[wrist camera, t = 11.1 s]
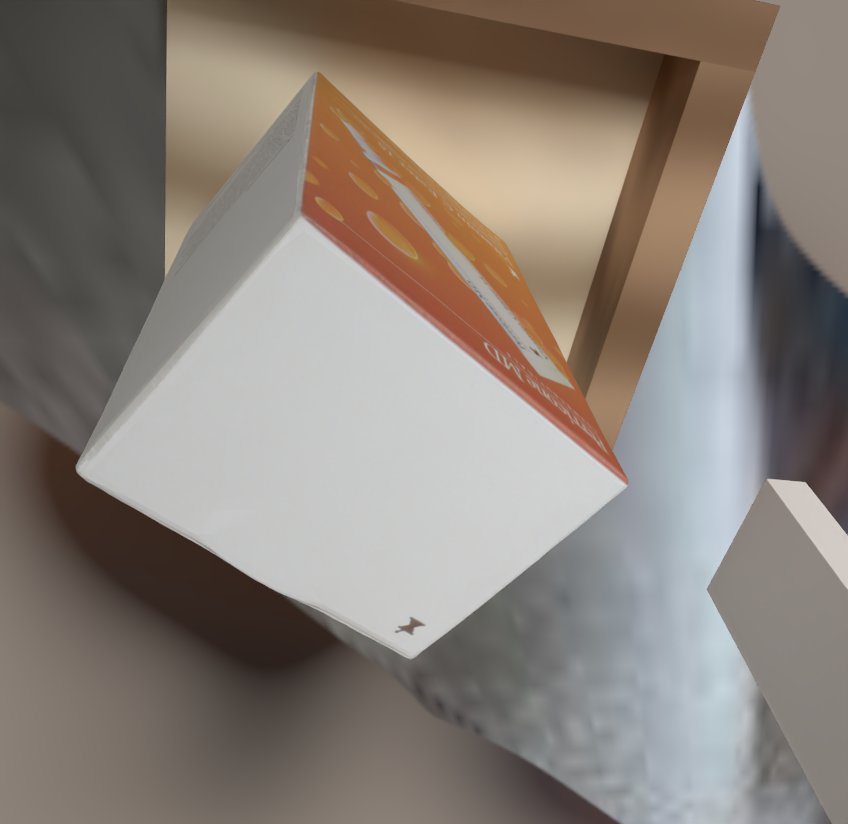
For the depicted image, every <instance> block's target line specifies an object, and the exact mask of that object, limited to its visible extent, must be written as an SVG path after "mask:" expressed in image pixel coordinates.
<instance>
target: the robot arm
mask: <svg viewBox="0 0 848 824" xmlns="http://www.w3.org/2000/svg"><path fill="white" fill-rule="evenodd" d="M707 591H708V593H709V594H710V596H711V598H712V600H713V602H714V604H715V606H716V608H717V609H718V611H719V613H720V615H721V617H722V619H723V621H724V623H725V624H726V626H727V628H728V630H729V632H730V634H731V636H732V638H733V640H734V641H735V643H736V645H737V647H738V649H739V651H740V653H741V655H742V656H743V658H744V660H745V662H746V664H747V666H748V668H749V670H750V671H751V673H752V675H753V677H754V679H755V681H756V683H757V685H758V686H759V688H760V690H761V692H762V694H763V696H764V698H765V700H766V701H767V703H768V705H769V707H770V709H771V711H772V713H773V715H774V717H775V718H776V720H777V722H778V724H779V726H780V728H781V730H782V732H783V733H784V735H785V737H786V739H787V741H788V743H789V745H790V747H791V748H792V750H793V752H794V754H795V756H796V758H797V760H798V762H799V763H800V765H801V767H802V769H803V771H804V773H805V775H806V777H807V778H808V780H809V782H810V784H811V786H812V788H813V790H814V792H815V794H816V795H817V797H818V799H819V801H820V803H821V805H822V807H823V809H824V810H825V812H826V814H827V816H828V818H829V820H830V822H831V824H848V536H847V534H846V533H845V532H844V530H843V529H842V528H841V527H840V525H839V524H838V523H837V522H836V520H835V519H834V518H833V517H832V515H831V514H830V513H829V512H828V510H827V509H826V508H825V506H824V505H823V504H822V503H821V501H820V500H819V499H818V498H817V496H816V495H815V494H814V493H813V491H812V490H811V489H810V488H809V486H808V485H807V484H806V482H796V481H785V480H774V479H766V481H765V482H764V484H763V486H762V488H761V490H760V492H759V494H758V495H757V497H756V499H755V501H754V503H753V505H752V506H751V508H750V510H749V512H748V514H747V516H746V518H745V519H744V521H743V523H742V525H741V527H740V529H739V531H738V532H737V534H736V536H735V538H734V540H733V542H732V543H731V545H730V547H729V549H728V551H727V553H726V555H725V556H724V558H723V560H722V562H721V564H720V566H719V567H718V569H717V571H716V573H715V575H714V577H713V579H712V580H711V582H710V584H709V586H708V588H707Z"/></svg>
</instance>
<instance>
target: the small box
mask: <svg viewBox="0 0 848 824" xmlns="http://www.w3.org/2000/svg"><path fill="white" fill-rule="evenodd" d="M76 471H77V473H78V474H79V475H80V476H81V477H82V478H84V479H85V480H86V481H87V482H89V483H91V484H93V485H95V486H96V487H98V488H100V489H102V490H103V491H105V492H107V493H108V494H110V495H111V496H113V497H115V498H117V499H118V500H120V501H122V502H124V503H126V504H127V505H129V506H131V507H133V508H135V509H137V510H138V511H140V512H142V513H143V514H145V515H147V516H148V517H150V518H152V519H154V520H155V521H157V522H159V523H160V524H162V525H164V526H166V527H168V528H169V529H171V530H173V531H175V532H177V533H179V534H180V535H182V536H184V537H186V538H188V539H190V540H191V541H193V542H195V543H197V544H199V545H200V546H202V547H203V548H205V549H207V550H208V551H210V552H212V553H213V554H215V555H217V556H218V557H220V558H221V559H223V560H225V561H226V562H228V563H230V564H231V565H232V566H234V567H236V568H237V569H239V570H240V571H242V572H243V573H245V574H246V575H248V576H250V577H251V578H253V579H255V580H256V581H258V582H260V583H262V584H264V585H266V586H267V587H269V588H271V589H273V590H275V591H277V592H279V593H281V594H283V595H286V596H288V597H290V598H292V599H295V600H297V601H299V602H301V603H303V604H306V605H308V606H310V607H313V608H315V609H317V610H319V611H321V612H323V613H325V614H326V615H328V616H330V617H332V618H333V619H335V620H337V621H339V622H341V623H343V624H345V625H347V626H349V627H351V628H352V629H354V630H356V631H358V632H360V633H362V634H363V635H365V636H367V637H369V638H371V639H373V640H375V641H377V642H379V643H381V644H382V645H384V646H386V647H388V648H390V649H392V650H394V651H395V652H397V653H399V654H400V655H402V656H404V657H406V658H408V659H413V658H415V657H416V656H417V655H419V654H420V653H421V652H422V651H423V650H425V649H426V648H427V647H429V646H430V645H431V644H433V643H434V642H435V641H437V640H438V639H439V638H441V637H442V636H443V635H445V634H446V633H447V632H449V631H450V630H451V629H452V628H454V627H455V626H456V625H457V624H459V623H460V622H461V621H463V620H464V619H465V618H466V617H468V616H469V615H470V614H472V613H473V612H474V611H475V610H477V609H478V608H479V607H480V606H482V605H483V604H484V603H485V602H487V601H488V600H489V599H490V598H491V597H493V596H494V595H495V594H496V593H498V592H499V591H500V590H501V589H503V588H504V587H505V586H506V585H508V584H509V583H510V582H511V581H513V580H514V579H515V578H516V577H518V576H519V575H520V574H521V573H523V572H524V571H525V570H526V569H527V568H529V567H530V566H531V565H532V564H534V563H535V562H536V561H537V560H539V559H540V558H541V557H542V556H543V555H544V554H546V553H547V552H548V551H549V550H550V549H552V548H553V547H554V546H556V545H557V544H558V543H559V542H561V541H562V540H563V539H564V538H566V537H567V536H568V535H569V534H571V533H572V532H573V531H574V530H576V529H577V528H578V527H579V526H580V525H582V524H583V523H584V522H585V521H586V520H588V519H589V518H590V517H591V516H593V515H594V514H595V513H596V512H597V511H598V510H599V509H601V508H602V507H603V506H604V505H605V504H607V503H608V502H609V501H610V500H612V499H613V498H614V497H616V496H617V495H618V494H619V493H621V492H622V491H623V490H624V489H625V488H627V486H628V479H627V477H626V475H625V474H624V472H623V470H622V468H621V466H620V464H619V463H618V461H617V459H616V457H615V455H614V453H613V452H612V450H611V448H610V446H609V444H608V442H607V441H606V439H605V437H604V435H603V433H602V431H601V429H600V427H599V425H598V423H597V421H596V419H595V417H594V415H593V413H592V411H591V409H590V407H589V405H588V404H587V402H586V400H585V398H584V396H583V394H582V392H581V390H580V388H579V386H578V384H577V382H576V380H575V378H574V376H573V374H572V372H571V370H570V368H569V366H568V364H567V362H566V360H565V358H564V356H563V354H562V352H561V350H560V348H559V346H558V344H557V342H556V340H555V338H554V336H553V334H552V333H551V331H550V329H549V327H548V325H547V323H546V321H545V319H544V317H543V315H542V314H541V312H540V310H539V308H538V306H537V304H536V302H535V300H534V298H533V296H532V294H531V292H530V290H529V288H528V286H527V284H526V282H525V280H524V278H523V275H522V274H521V272H520V270H519V268H518V266H517V264H516V262H515V260H514V258H513V256H512V254H511V252H510V250H509V249H508V247H507V245H506V243H505V242H504V241H503V240H502V239H500V238H499V237H498V236H497V235H496V234H494V233H493V232H492V231H491V230H490V229H488V228H487V227H486V226H485V225H484V224H482V223H481V222H480V221H479V220H478V219H477V218H475V217H474V216H473V215H472V214H471V213H470V212H469V211H467V210H466V209H465V208H464V207H463V206H462V205H461V204H460V203H459V202H457V201H456V200H455V199H454V198H453V197H452V196H451V195H450V194H449V193H448V192H447V191H446V190H444V189H443V188H442V187H441V186H440V185H439V184H438V183H437V182H436V181H435V180H434V179H433V178H431V177H430V176H429V175H428V174H427V173H426V172H425V171H424V170H422V169H421V168H420V167H419V166H418V165H417V164H416V163H415V162H414V161H413V160H412V159H411V158H410V157H408V156H407V155H406V154H405V153H404V152H403V151H402V150H401V149H400V148H399V147H398V146H397V145H396V144H395V143H394V142H393V141H392V140H390V139H389V138H388V137H387V136H386V135H385V134H384V133H383V132H382V131H381V130H380V129H379V128H378V127H377V126H376V125H375V124H374V123H373V122H371V121H370V120H369V119H368V118H367V117H366V116H365V115H364V114H363V113H362V112H361V111H360V110H359V109H358V108H357V107H356V106H355V105H354V104H352V103H351V102H350V101H349V100H348V99H347V98H346V97H345V96H344V95H343V94H342V93H341V92H340V91H339V90H338V89H337V88H336V87H335V86H333V85H332V84H331V83H330V82H329V81H328V80H327V79H326V78H325V77H324V76H323V75H322V74H321V73H320V72H315V73H313V75H312V76H311V77H310V78H309V79H308V80H307V82H306V83H305V84H304V85H303V87H302V88H301V89H300V90H299V92H298V93H297V94H296V95H295V97H294V98H293V99H292V100H291V102H290V103H289V104H288V105H287V107H286V108H285V109H284V110H283V112H282V113H281V114H280V115H279V117H278V118H277V119H276V120H275V122H274V123H273V124H272V125H271V127H270V128H269V129H268V130H267V132H266V133H265V134H264V135H263V137H262V138H261V139H260V140H259V142H258V143H257V144H256V145H255V147H254V148H253V149H252V150H251V152H250V153H249V154H248V155H247V157H246V158H245V159H244V160H243V162H242V163H241V164H240V165H239V166H238V168H237V169H236V170H235V171H234V173H233V174H232V175H231V176H230V178H229V179H228V180H227V181H226V183H225V184H224V185H223V186H222V188H221V189H220V190H219V191H218V192H217V194H216V195H215V196H214V197H213V199H212V200H211V201H210V202H209V204H208V205H207V206H206V207H205V209H204V210H203V211H202V212H201V213H200V215H199V216H198V217H197V218H196V220H195V221H194V222H193V224H192V225H191V227H190V228H189V230H188V232H187V234H186V236H185V238H184V240H183V242H182V244H181V246H180V249H179V251H178V253H177V255H176V257H175V259H174V261H173V263H172V265H171V267H170V270H169V272H168V274H167V276H166V278H165V280H164V283H163V285H162V287H161V289H160V291H159V293H158V296H157V298H156V300H155V302H154V305H153V307H152V309H151V311H150V314H149V316H148V318H147V320H146V322H145V324H144V326H143V328H142V330H141V332H140V335H139V337H138V339H137V341H136V343H135V345H134V347H133V349H132V352H131V354H130V356H129V358H128V360H127V362H126V364H125V366H124V369H123V371H122V373H121V375H120V377H119V379H118V382H117V384H116V386H115V388H114V390H113V392H112V394H111V397H110V399H109V401H108V403H107V405H106V407H105V409H104V411H103V413H102V416H101V418H100V420H99V422H98V423H97V425H96V427H95V429H94V431H93V433H92V435H91V437H90V439H89V441H88V443H87V445H86V447H85V449H84V451H83V453H82V455H81V457H80V459H79V461H78V463H77V465H76Z"/></svg>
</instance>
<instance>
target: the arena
mask: <svg viewBox="0 0 848 824" xmlns="http://www.w3.org/2000/svg"><path fill="white" fill-rule="evenodd" d="M779 8H780V6H779V5H774V4H769V3H765V2H760V1H756V0H167V76H166V203H165V278H166V276H167V274H168V272H169V270H170V267H171V265H172V263H173V261H174V259H175V257H176V255H177V253H178V251H179V249H180V246H181V244H182V242H183V240H184V238H185V236H186V234H187V232H188V230H189V228H190V227H191V225H192V224H193V222H194V221H195V220H196V218H197V217H198V216H199V215H200V213H201V212H202V211H203V210H204V209H205V207H206V206H207V205H208V204H209V202H210V201H211V200H212V199H213V197H214V196H215V195H216V194H217V192H218V191H219V190H220V189H221V188H222V186H223V185H224V184H225V183H226V181H227V180H228V179H229V178H230V176H231V175H232V174H233V173H234V171H235V170H236V169H237V168H238V166H239V165H240V164H241V163H242V162H243V160H244V159H245V158H246V157H247V155H248V154H249V153H250V152H251V150H252V149H253V148H254V147H255V145H256V144H257V143H258V142H259V140H260V139H261V138H262V137H263V135H264V134H265V133H266V132H267V130H268V129H269V128H270V127H271V125H272V124H273V123H274V122H275V120H276V119H277V118H278V117H279V115H280V114H281V113H282V112H283V110H284V109H285V108H286V107H287V105H288V104H289V103H290V102H291V100H292V99H293V98H294V97H295V95H296V94H297V93H298V92H299V90H300V89H301V88H302V87H303V85H304V84H305V83H306V82H307V80H308V79H309V78H310V77H311V76H312V75H313V73H315V72H320V73H321V74H322V75H323V76H324V77H325V78H326V79H327V80H328V81H329V82H330V83H331V84H332V85H333V86H335V87H336V88H337V89H338V90H339V91H340V92H341V93H342V94H343V95H344V96H345V97H346V98H347V99H348V100H349V101H350V102H351V103H352V104H354V105H355V106H356V107H357V108H358V109H359V110H360V111H361V112H362V113H363V114H364V115H365V116H366V117H367V118H368V119H369V120H370V121H371V122H373V123H374V124H375V125H376V126H377V127H378V128H379V129H380V130H381V131H382V132H383V133H384V134H385V135H386V136H387V137H388V138H389V139H390V140H392V141H393V142H394V143H395V144H396V145H397V146H398V147H399V148H400V149H401V150H402V151H403V152H404V153H405V154H406V155H407V156H408V157H410V158H411V159H412V160H413V161H414V162H415V163H416V164H417V165H418V166H419V167H420V168H421V169H422V170H424V171H425V172H426V173H427V174H428V175H429V176H430V177H431V178H433V179H434V180H435V181H436V182H437V183H438V184H439V185H440V186H441V187H442V188H443V189H444V190H446V191H447V192H448V193H449V194H450V195H451V196H452V197H453V198H454V199H455V200H456V201H457V202H459V203H460V204H461V205H462V206H463V207H464V208H465V209H466V210H467V211H469V212H470V213H471V214H472V215H473V216H474V217H475V218H477V219H478V220H479V221H480V222H481V223H482V224H484V225H485V226H486V227H487V228H488V229H490V230H491V231H492V232H493V233H494V234H496V235H497V236H498V237H499V238H500V239H502V240H503V241H504V242H505V243H506V245H507V247H508V249H509V250H510V252H511V254H512V256H513V258H514V260H515V262H516V264H517V266H518V268H519V270H520V272H521V274H522V275H523V278H524V280H525V282H526V284H527V286H528V288H529V290H530V292H531V294H532V296H533V298H534V300H535V302H536V304H537V306H538V308H539V310H540V312H541V314H542V315H543V317H544V319H545V321H546V323H547V325H548V327H549V329H550V331H551V333H552V334H553V336H554V338H555V340H556V342H557V344H558V346H559V348H560V350H561V352H562V354H563V356H564V358H565V360H566V362H567V364H568V366H569V368H570V370H571V372H572V374H573V376H574V378H575V380H576V382H577V384H578V386H579V388H580V390H581V392H582V394H583V396H584V398H585V400H586V402H587V404H588V405H589V407H590V409H591V411H592V413H593V415H594V417H595V419H596V421H597V423H598V425H599V427H600V429H601V431H602V433H603V435H604V437H605V439H606V441H607V442H608V444H609V446H610V448H611V450H613V447H614V444H615V442H616V439H617V436H618V434H619V431H620V428H621V426H622V423H623V421H624V418H625V415H626V413H627V410H628V407H629V405H630V402H631V399H632V397H633V394H634V391H635V389H636V386H637V384H638V381H639V378H640V376H641V373H642V370H643V368H644V365H645V362H646V360H647V357H648V354H649V352H650V349H651V347H652V344H653V341H654V339H655V336H656V333H657V331H658V328H659V325H660V323H661V320H662V317H663V315H664V312H665V310H666V307H667V304H668V302H669V299H670V296H671V294H672V291H673V288H674V286H675V283H676V280H677V278H678V275H679V272H680V270H681V267H682V265H683V262H684V259H685V257H686V254H687V251H688V249H689V246H690V243H691V241H692V238H693V235H694V233H695V230H696V228H697V225H698V222H699V220H700V217H701V214H702V212H703V209H704V206H705V204H706V201H707V198H708V196H709V193H710V191H711V188H712V185H713V183H714V180H715V177H716V175H717V172H718V169H719V167H720V164H721V161H722V159H723V156H724V154H725V151H726V148H727V146H728V143H729V140H730V138H731V135H732V132H733V130H734V127H735V124H736V122H737V119H738V116H739V114H740V111H741V109H742V106H743V103H744V101H745V98H746V95H747V93H748V90H749V87H750V85H751V82H752V79H753V77H754V74H755V72H756V69H757V66H758V64H759V61H760V58H761V56H762V53H763V50H764V47H765V45H766V42H767V40H768V37H769V35H770V32H771V29H772V27H773V24H774V21H775V18H776V16H777V13H778V11H779Z"/></svg>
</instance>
